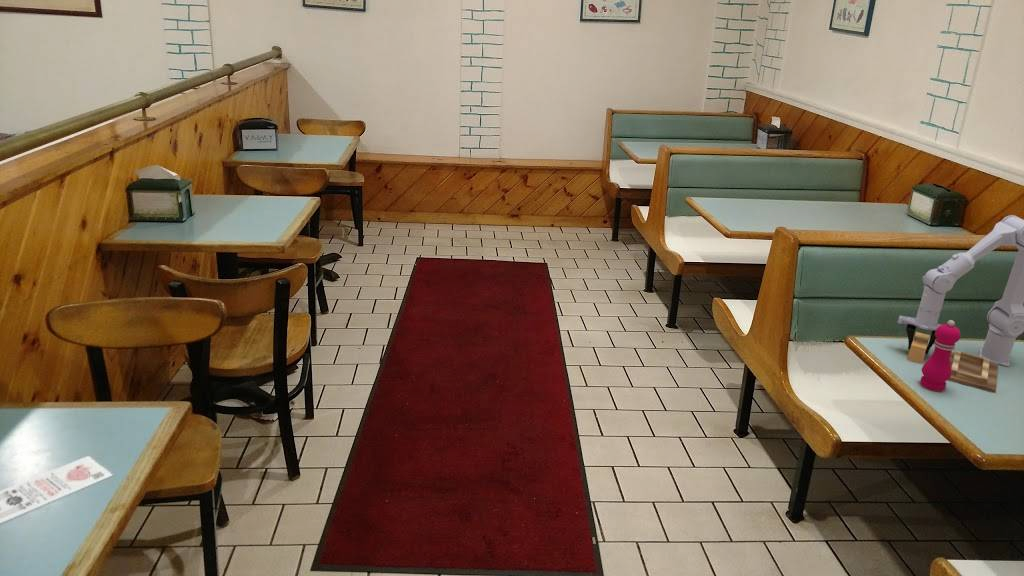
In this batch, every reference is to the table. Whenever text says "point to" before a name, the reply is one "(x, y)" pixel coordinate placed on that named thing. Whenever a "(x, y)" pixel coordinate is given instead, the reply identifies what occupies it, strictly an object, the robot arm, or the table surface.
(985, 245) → the robot arm
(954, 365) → the jig
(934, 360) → the pepper mill
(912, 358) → the tan block
